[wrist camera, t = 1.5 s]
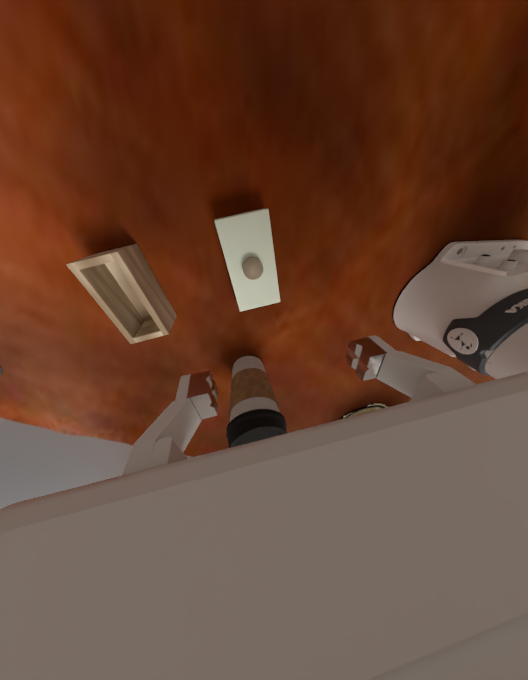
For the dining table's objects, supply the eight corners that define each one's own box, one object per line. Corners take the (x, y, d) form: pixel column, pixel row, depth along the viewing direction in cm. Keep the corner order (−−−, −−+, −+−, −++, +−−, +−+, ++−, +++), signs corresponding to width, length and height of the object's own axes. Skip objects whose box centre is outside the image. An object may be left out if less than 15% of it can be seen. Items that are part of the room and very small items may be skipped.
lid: (262, 208, 22) (270, 209, 19) (274, 292, 29) (282, 304, 25) (215, 218, 22) (213, 221, 19) (238, 301, 29) (240, 315, 25)
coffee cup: (221, 355, 34) (219, 437, 22) (266, 346, 34) (289, 421, 22) (231, 385, 39) (233, 465, 27) (270, 377, 39) (290, 452, 27)
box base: (136, 243, 22) (117, 251, 18) (176, 315, 28) (168, 334, 24) (95, 253, 22) (66, 264, 18) (144, 324, 28) (130, 344, 24)
